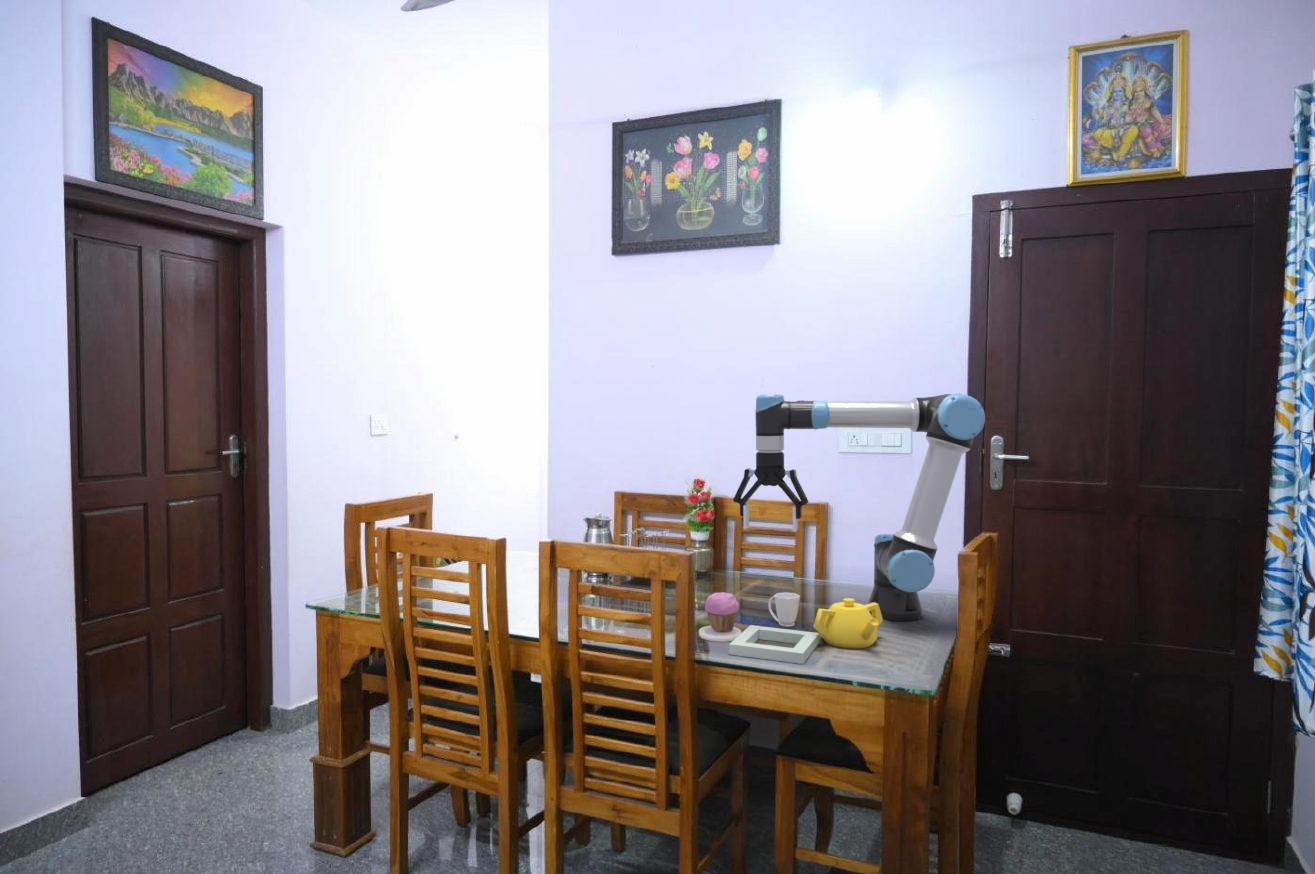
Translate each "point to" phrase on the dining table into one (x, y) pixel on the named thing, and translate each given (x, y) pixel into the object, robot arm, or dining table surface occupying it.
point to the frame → (798, 654)
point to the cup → (785, 608)
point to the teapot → (849, 624)
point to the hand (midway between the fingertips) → (770, 529)
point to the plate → (718, 634)
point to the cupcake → (721, 611)
